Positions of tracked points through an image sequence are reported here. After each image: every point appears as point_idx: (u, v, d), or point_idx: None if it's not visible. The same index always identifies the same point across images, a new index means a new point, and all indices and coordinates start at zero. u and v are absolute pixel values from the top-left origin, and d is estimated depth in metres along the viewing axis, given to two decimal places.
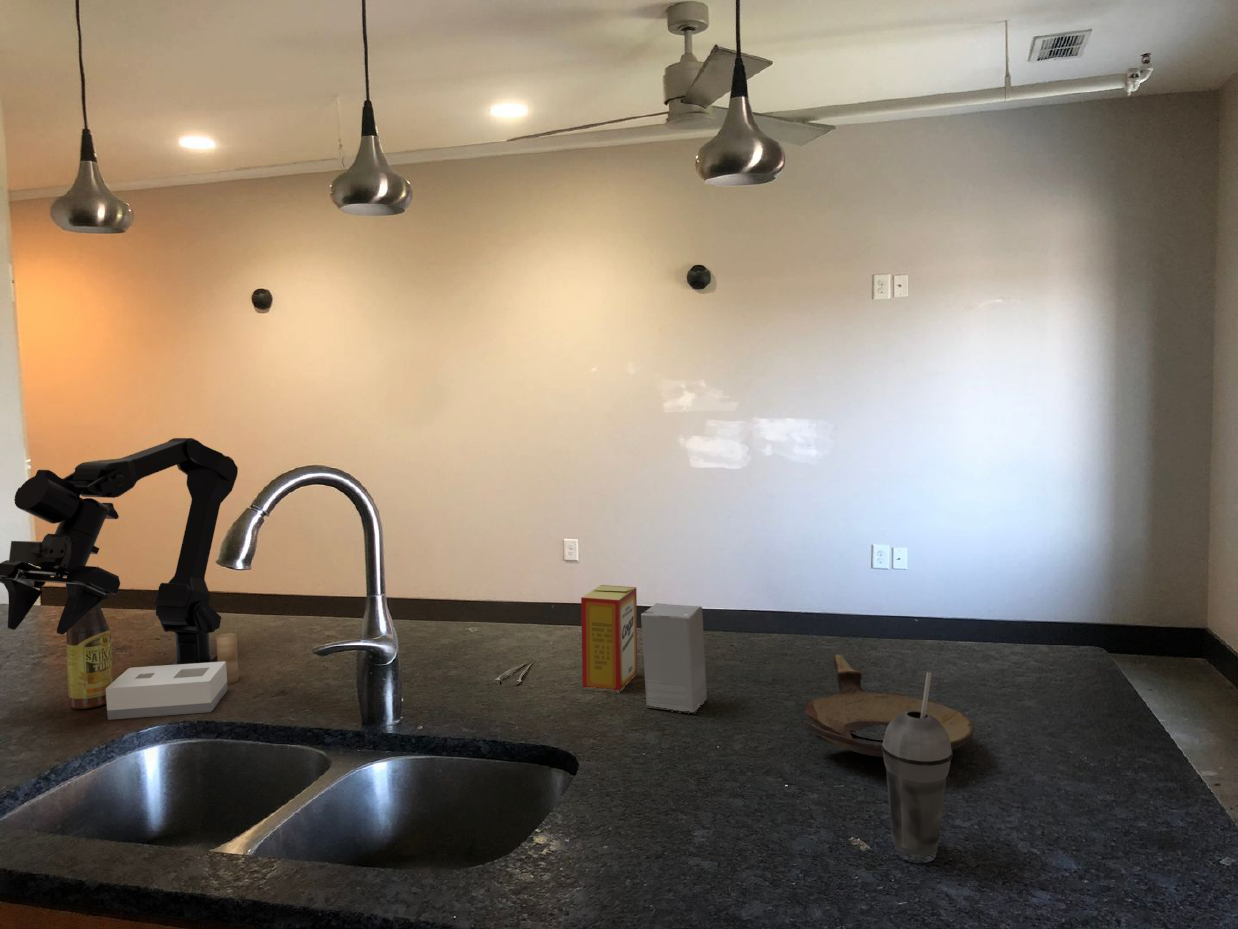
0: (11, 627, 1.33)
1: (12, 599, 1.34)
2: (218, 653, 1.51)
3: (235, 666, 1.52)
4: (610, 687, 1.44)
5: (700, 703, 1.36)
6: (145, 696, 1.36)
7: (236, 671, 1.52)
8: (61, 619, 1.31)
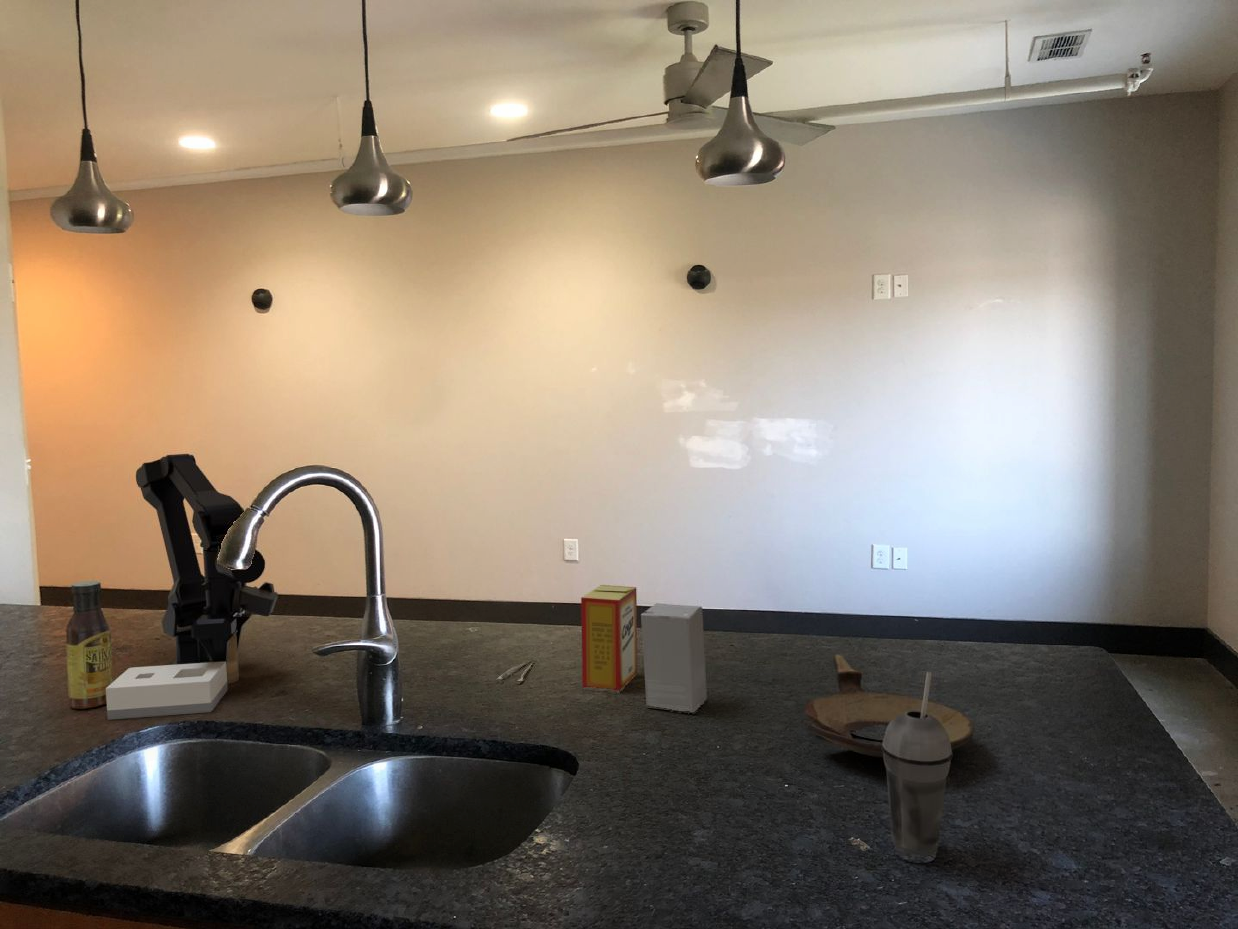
0: None
1: (227, 646, 1.47)
2: None
3: (235, 666, 1.52)
4: (610, 687, 1.44)
5: (700, 703, 1.36)
6: (145, 696, 1.36)
7: (236, 671, 1.52)
8: (238, 645, 1.56)
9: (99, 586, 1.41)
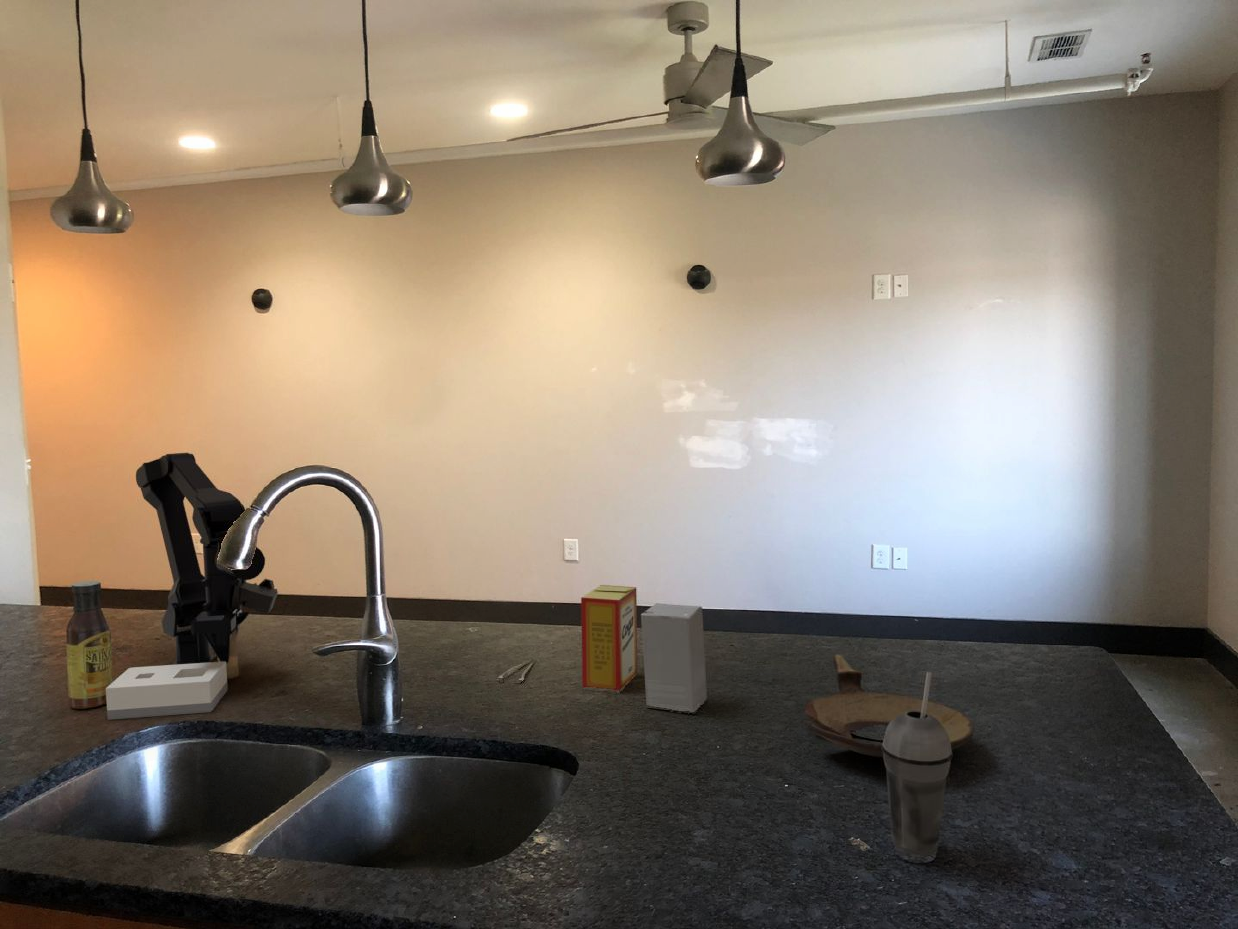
0: None
1: (230, 640, 1.49)
2: None
3: (235, 661, 1.51)
4: (610, 687, 1.44)
5: (700, 703, 1.36)
6: (145, 696, 1.36)
7: (236, 666, 1.52)
8: None
9: (99, 586, 1.41)
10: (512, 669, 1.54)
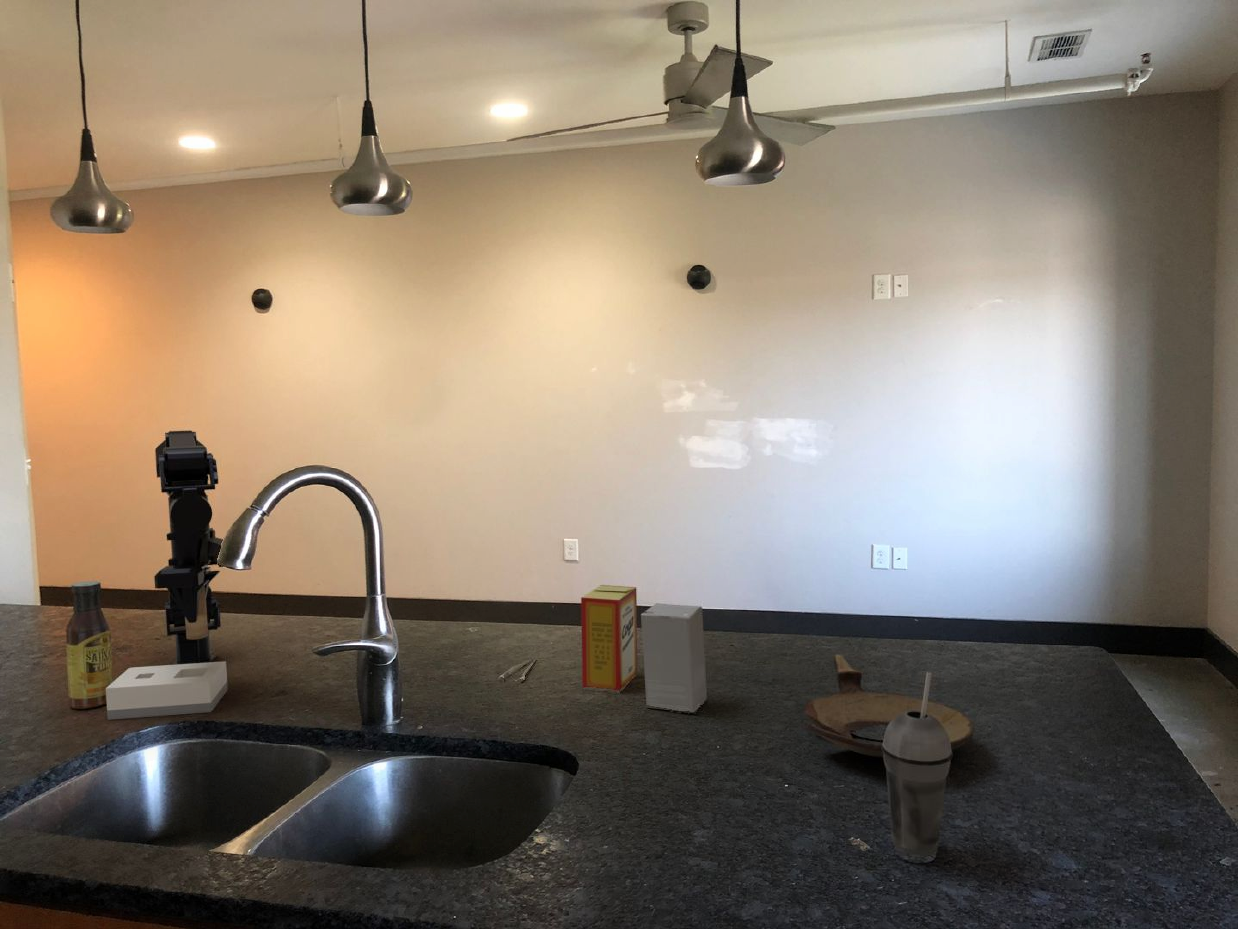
0: None
1: (198, 597, 1.40)
2: None
3: (204, 621, 1.42)
4: (610, 687, 1.44)
5: (700, 703, 1.36)
6: (145, 696, 1.36)
7: (205, 626, 1.42)
8: None
9: (99, 586, 1.41)
10: (513, 668, 1.55)
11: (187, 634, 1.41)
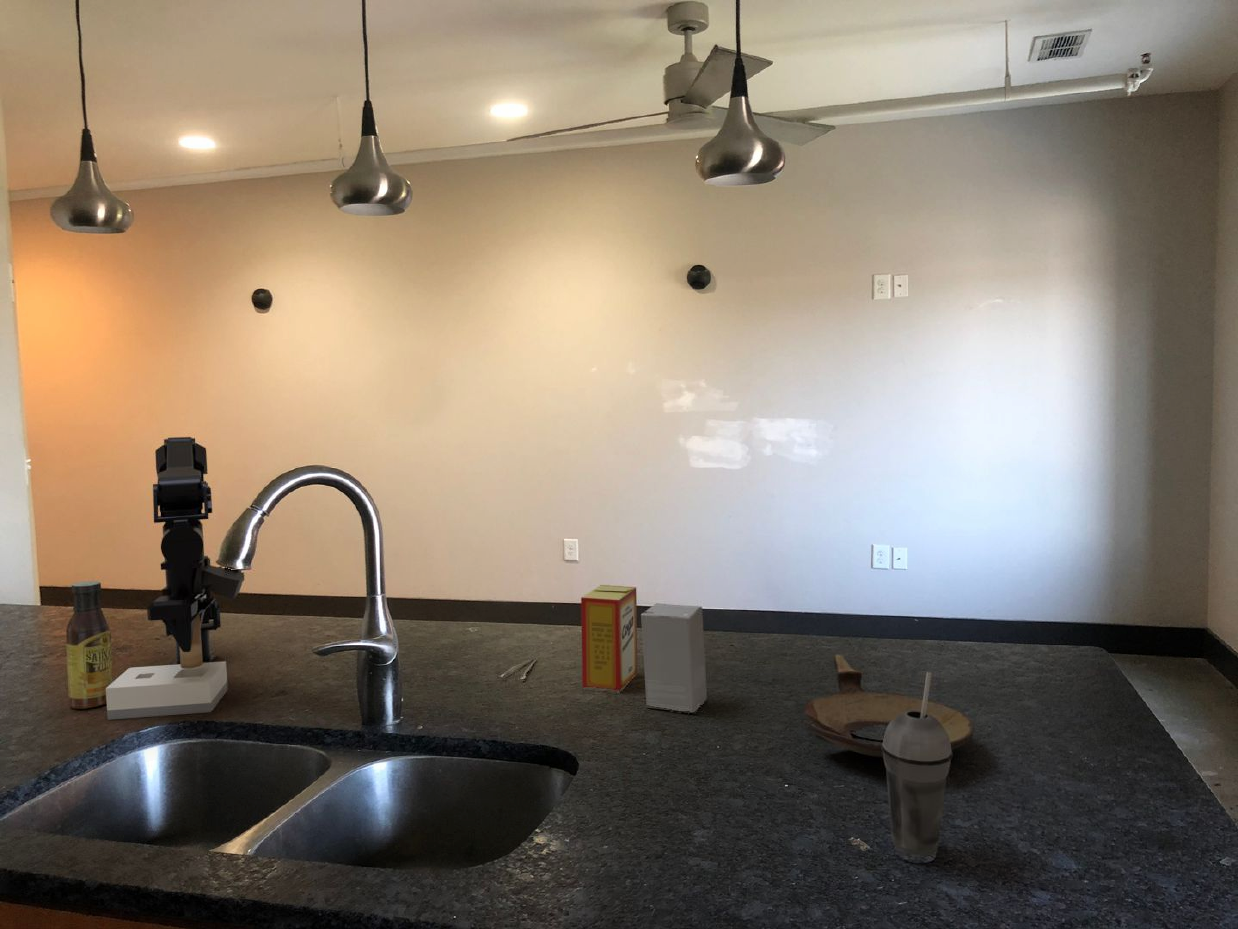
0: None
1: (192, 627, 1.39)
2: None
3: (198, 649, 1.41)
4: (610, 687, 1.44)
5: (700, 703, 1.36)
6: (145, 696, 1.36)
7: (199, 655, 1.41)
8: None
9: (99, 586, 1.41)
10: (514, 668, 1.55)
11: (181, 663, 1.40)
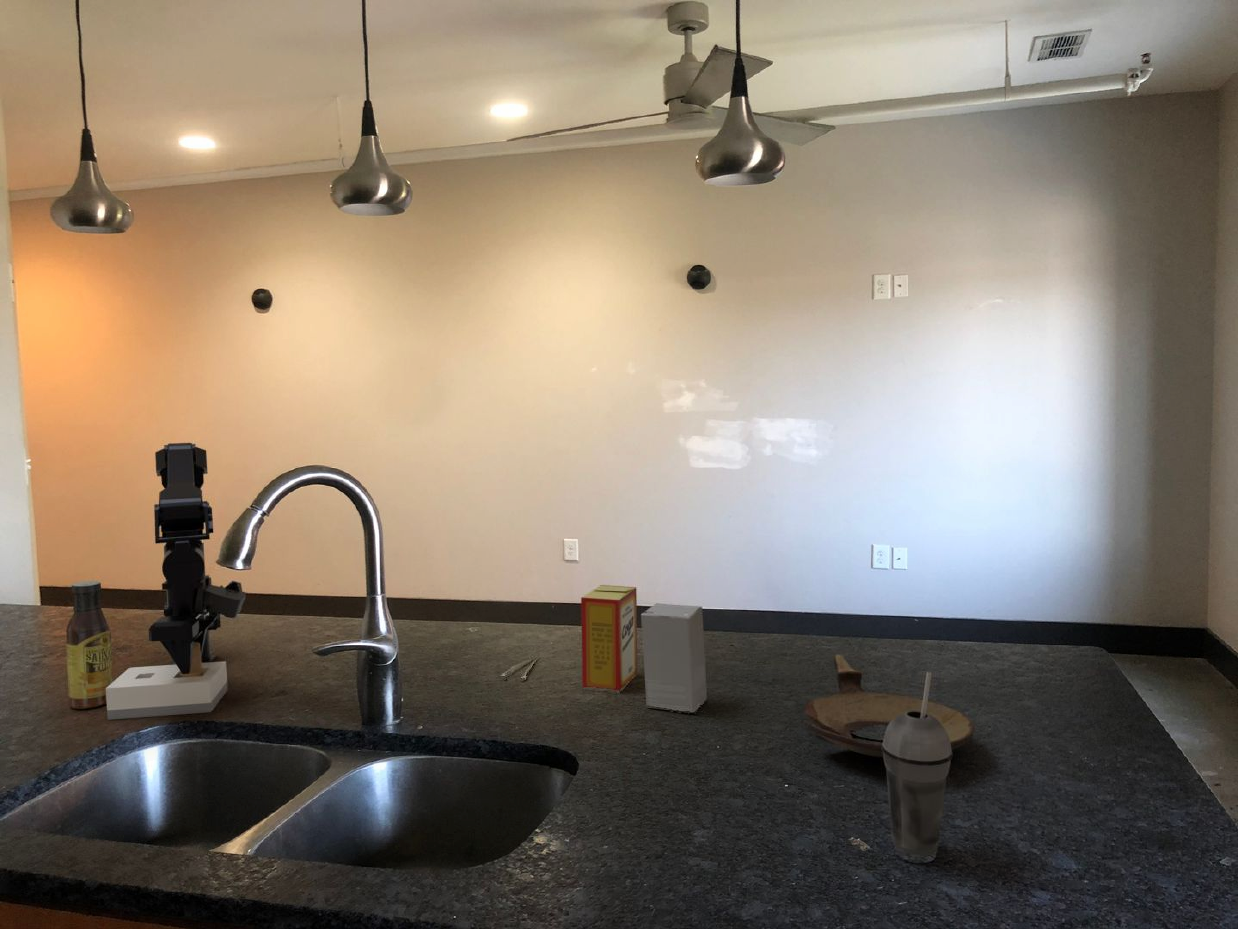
0: None
1: (191, 648, 1.38)
2: None
3: None
4: (610, 687, 1.44)
5: (700, 703, 1.36)
6: (145, 696, 1.36)
7: None
8: (202, 650, 1.45)
9: (99, 586, 1.41)
10: (515, 667, 1.55)
11: None
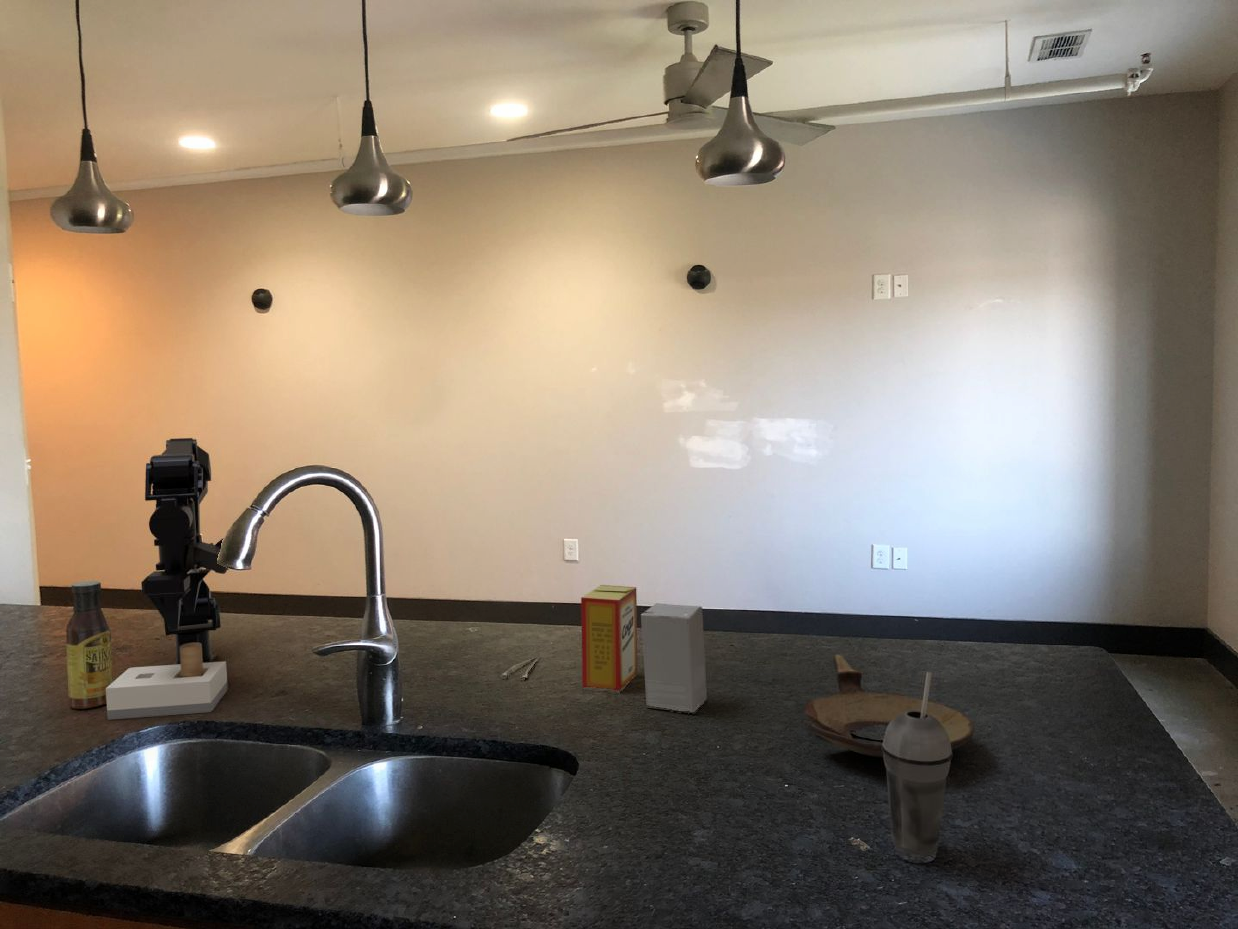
0: None
1: (180, 605, 1.42)
2: (181, 664, 1.40)
3: None
4: (610, 687, 1.44)
5: (700, 703, 1.36)
6: (145, 696, 1.36)
7: None
8: (195, 601, 1.52)
9: (99, 586, 1.41)
10: (516, 666, 1.56)
11: None
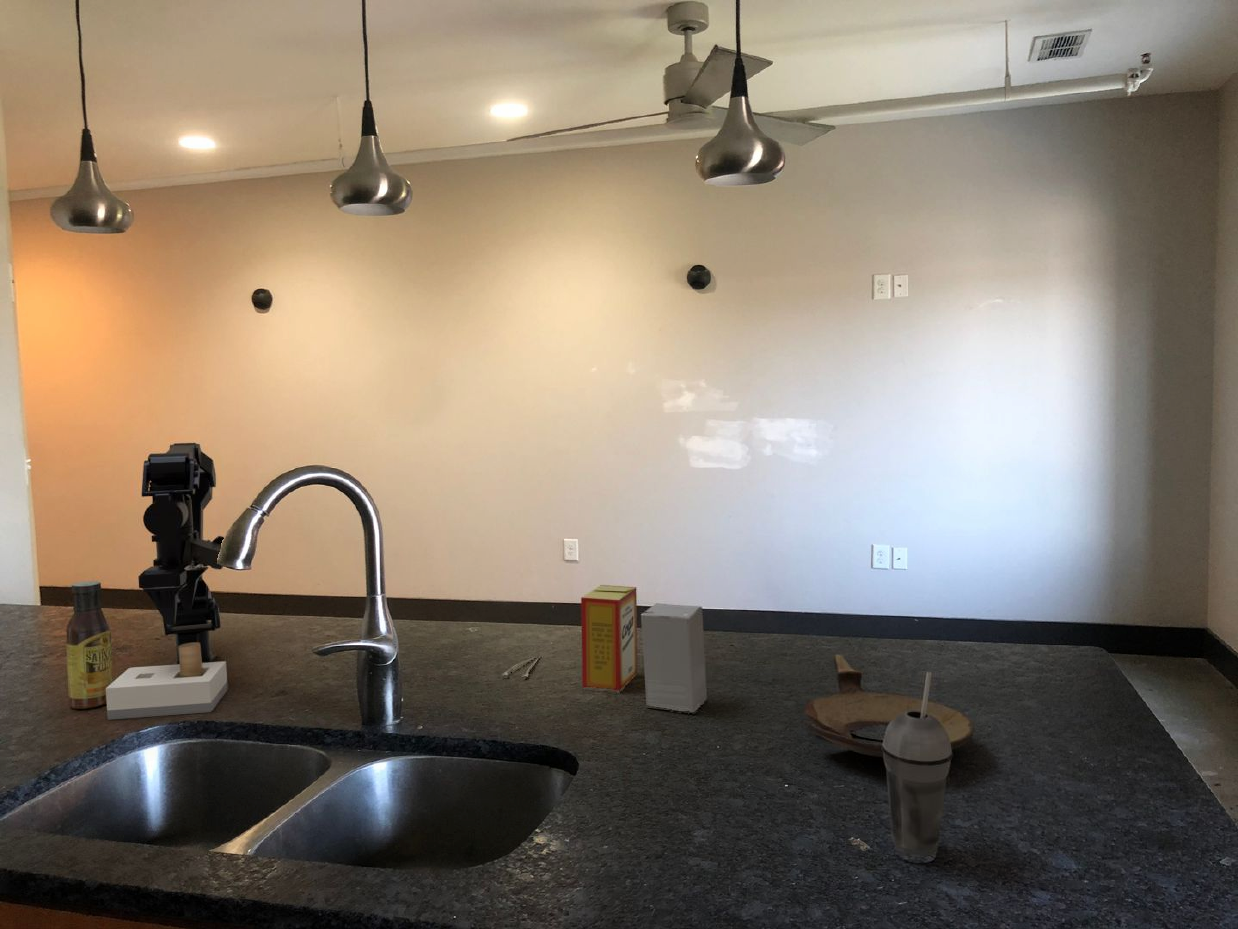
0: None
1: (176, 600, 1.44)
2: (180, 664, 1.40)
3: None
4: (610, 687, 1.44)
5: (700, 703, 1.36)
6: (145, 696, 1.36)
7: None
8: (193, 598, 1.54)
9: (99, 586, 1.41)
10: (517, 665, 1.56)
11: None
